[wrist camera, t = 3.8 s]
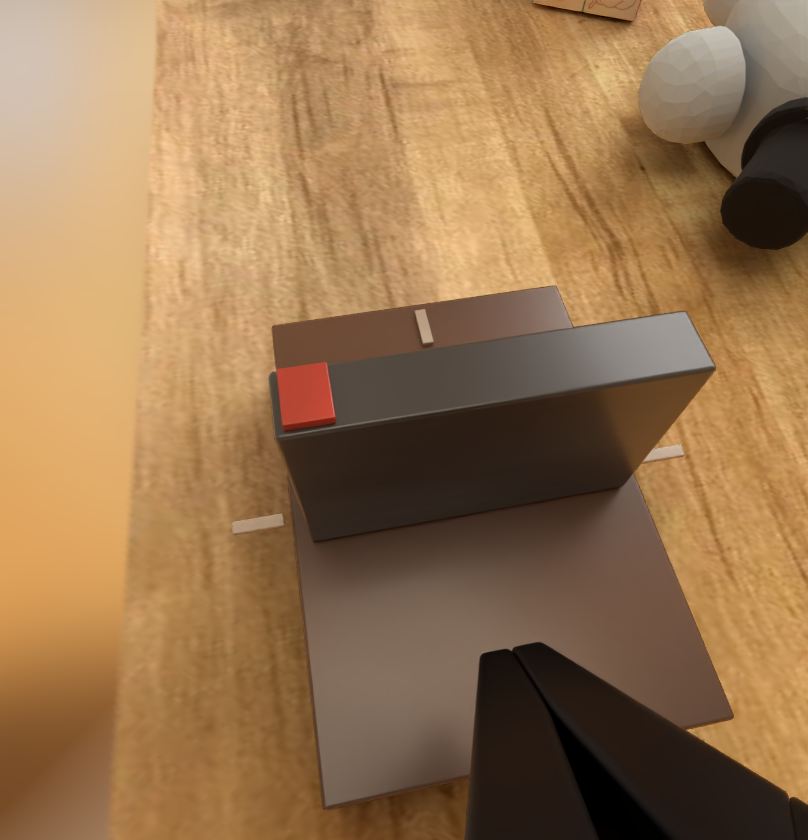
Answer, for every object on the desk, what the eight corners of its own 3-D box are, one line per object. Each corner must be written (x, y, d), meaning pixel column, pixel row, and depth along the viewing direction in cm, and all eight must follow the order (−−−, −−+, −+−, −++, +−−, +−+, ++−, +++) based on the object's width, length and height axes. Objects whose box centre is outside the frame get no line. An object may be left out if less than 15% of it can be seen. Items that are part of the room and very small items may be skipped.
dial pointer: (604, 438, 18) (692, 300, 13) (624, 487, 18) (725, 361, 12) (305, 489, 18) (265, 364, 12) (312, 543, 17) (272, 434, 11)
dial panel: (738, 714, 17) (801, 704, 15) (273, 818, 16) (248, 828, 13) (578, 330, 24) (601, 274, 22) (242, 381, 23) (221, 328, 20)
